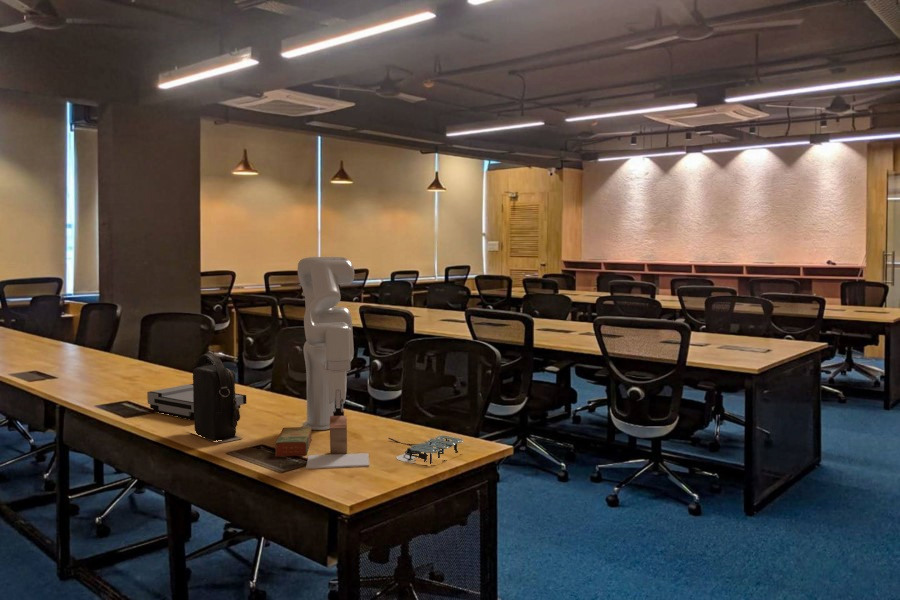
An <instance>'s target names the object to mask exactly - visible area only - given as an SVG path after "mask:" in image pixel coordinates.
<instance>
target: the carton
mask: <svg viewBox="0 0 900 600" xmlns="http://www.w3.org/2000/svg"><path fill="white" fill-rule="evenodd" d="M312 431H313V430H311V427H303V426H297V427H296V426H294V427H293V426H292V427H283V428H282V429H281V431H280V433H279V435H278V437H277V438H276V442H275V452H274V453H275V457H299V456H301V457H302V456H303V457H305V456H307V455H308V451H309V448H310V446H311V443H312Z"/></svg>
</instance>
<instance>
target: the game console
mask: <svg viewBox="0 0 900 600" xmlns="http://www.w3.org/2000/svg"><path fill="white" fill-rule="evenodd" d="M146 393H147V397H146V398H147V405H149V407H150V409H152V410H153V411H155V412H159V413H164V414H169V415H173V416H178V417H181V418H180V419H183V418H186V419H185V420H188V419H190V420H189V421H193V420H194V407H193V406H194V405H193V404H194V402H193V383H188V384H184V385H183V384H182V385H179V386H178V385H177V386H172V387H168V388H162V389H156V390H155V389H154V390H152V391H151V390H150V391H147V392H146ZM235 398H236V404H237V405H238V408H239V409H241V406H242V405H243V406H244V405H247V394H241V393H236V392H235ZM153 411H152V412H153ZM173 416H172V417H173ZM178 417H177V418H178Z"/></svg>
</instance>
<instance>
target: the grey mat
mask: <svg viewBox="0 0 900 600" xmlns="http://www.w3.org/2000/svg"><path fill="white" fill-rule="evenodd" d="M369 457H370V455H369V452H368V453H367V452H365V453H364V452H361V453H360V452H359V453H347V454H331V455H330V454H309V455H308V457H307V462H306V465H305V469H306V470H310V469H311V470H312V469H335V468H339V469H340V468H361V467H363V468H364V467H367V468H368V467H370V458H369Z"/></svg>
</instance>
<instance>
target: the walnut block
mask: <svg viewBox="0 0 900 600" xmlns="http://www.w3.org/2000/svg"><path fill="white" fill-rule="evenodd" d="M347 424H348V417H347V415H344V416H330V429H329V445H330V446H329V450H330V453H329V455H331V454H348V425H347Z"/></svg>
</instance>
